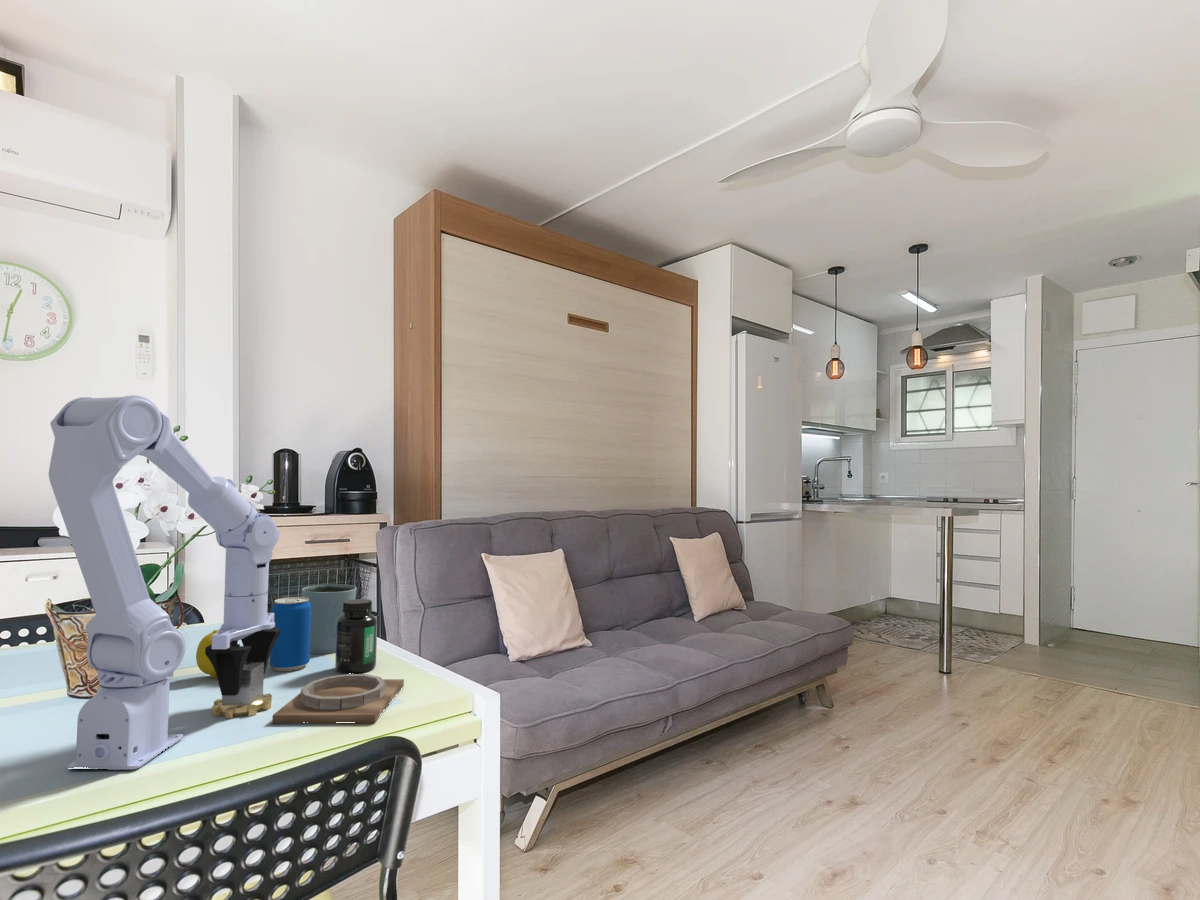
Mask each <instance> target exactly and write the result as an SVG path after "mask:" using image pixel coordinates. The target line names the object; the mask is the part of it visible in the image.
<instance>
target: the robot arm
mask: <svg viewBox="0 0 1200 900" xmlns="http://www.w3.org/2000/svg"><path fill="white" fill-rule="evenodd" d="M170 420H171V419H170V418H169V417H168V416H167V415H166V414H164V413H163V412H162V411H160V409H159V408H158V407H157V405H156V404H155V403H154V402H153V401H152V400H150V399H149V398H147V397H145V396H142V395H137V394H136V395H135V394H134V395H133V394H132V395H125V396H116V397H115V396H114V397H113V396H112V397H90V396H85V397H83V396H82V397H77V398H74V399H72V400H70V401H68V402H67V403H66V404H65V405H64V406H63V407H62V408H61V409H60V411H59V412H58V413H57V414H56V415H55V417H54V418H53V419H52V420H51V421H50V422H49V423H50V428H51V430H52V433H53V436H54V441H53V445H52V447H53V448H52V452H51V457H50V463H49V468H48V479H49V483H50V486H51V489H52V490H53V494H54V497H55V500H56V503H57V506H58V508H59V510H60V511H59V512H60V515H61V516H62V520H63V523H64V525H65V529H66V531H67V534H68V538H69V539H70V543H71V545H72V548H73V552H74V554H75V557H76V560H77V563H78V565H79V569H80V572H81V574H82V578H83V580H84V582H85V586H86V588H87V592H88V595H89V597H90V600H91V603H92V605H93V609H94V611H95V614H94V616H93V617H92V618H91V619H90V620H89V621H88V622H87V623H86V625H85V630H86V633H87V640H88V641H87V642H88V643H87V646H86V647H87V648H86V654H85V655H86V660H87V662H88V664H89V665H90V667H91V668H92V669H93V670H94V671H96V672H97V673H96V674H97V676H96V677H97V678H96V680H97V681H99V686H98V688H97V691H96V693H95V694H94V696H92V697H91V698H90V699H88V700H87V701H85V703H84V704H83V705H82V706H81V708H80V709H79V712H78V715H77V726H76V727H77V728H76V750H75V760H74V761H73V762H71V763H70V764H68V765H67V769H68V768H74V767H83V768H84V767H86V768H87V767H88V768H97V769H108V771H110V770H111V771H112V770H113V771H115V770H118V771H119V770H120V771H121V770H124V771H127V770H137V769H140V767H142V766H144V765H145V764H147V763H148V762H150V761H151V760H153V759H154V758H156V757H157V756H158V754H159V755H160V754H162V753H163V752H165V751H166V750H167V749H169V748H170V747H172V746H173V745H175V744H176V743H178V742H179V741H181V740H182V739H183V738H184V734H182V733H169V710H170V709H169V708H170V707H169V706H170V684H171V683H170V682H171V678H173V677H174V672H175V671H176V670H177V669H178V667H179V666H180V665H181V663H182V661H183V660H184V657H185V654H186V646H187V645H186V639H185V636H184V635H183V634H182V632H181V631H180V630H179V629H177V628H176V627H175V626H174V625H173V623H172V621H171V618H170V615H169V614H168V613H167V612H166V611H165V610H164V609H163V608H162V607H160V606H159V605H158V604H157V603H155V602H154V601H153V600H152V598H150V594H149V592H148V591H149V590H148V588H147V585H146V582H145V579H144V576H143V573H142V570H141V566H140V563H139V560H138V556H137V554H136V551H135V549H134V548H135V547H134V544H133V541H132V538H131V535H130V532H129V528H128V526H127V523H126V520H125V519H126V518H125V517H124V514H123V511H122V506H121V505H120V500H119V498H118V494H117V492H116V489H115V485H114V479H115V477H116V476H117V475H118V473H120V471H121V469H122V468H123V467H124V466H125V465H127V464H128V463H130V461H132V460H133V459H135V458H136V457H138V456H142V457H145V458H146V459H148V461H149V462H151V463H152V464H153V465H155V467H157V468H158V469H159V470H160V471H162V472H163V473H164V474H165V475H166V476H168V477H169V478H170V479H171V480H172V481H174V482H175V483H176V484H178V485H179V486H180V487H181V488H182V489H183V490H185V491H186V492H187V493H188V496H187V504H188V506H189V507H190V508H191V509H192V510H193V511H194V512H195V513H196V514H197V515H198V516H199V517H200V518H201V519H203V520H204V521H205V522H206V523H207V524H208V525H209V526H210V527H211V528H212V529H213V530H214V532H215V539H216V542H217V545H218V546H220V547H222V548H223V549H225V564H224V565H225V566H224V570H225V571H224V573H225V574H224V597H223V600H224V601H223V623H222V624H221V626H220V628H219V629H217V630H218V632H217V633H216V634H214V635H212V644H211V645H209V646H207V647H206V648H205V654H206V656H207V657H208V658H209V660H210V661H211V663H212V665H213V667H214V669H215V672H216V675H217V677H216V679H217V681H218V682H217V683H218V686H219V689H220V691H219V692H220V695H221V697H222V696H236V695H238V694H239V691H240V687H241V682H242V674H243V669H244V665H245V662H264V675H265V674H266V671H267V667H268V664H269V661H270V653H271V650H272V648H273V646H274V643H275V641H276V639H277V638H278V636H279V634H280V628H273V627H275V622H274V613H271V612H268V603H269V602H268V601H269V572H270V571H269V570H270V569H269V567H270V562H271V561H272V560H271V559H272V558H273V550H274V547H275V546H276V545H277V542H278V540H279V538H280V530H278V527H277V523H276V522H275V520H274V519H273V518H272V517H271V516H270V515H268V514H266V513H263V512H258V511H257V509H256V508H255V505H254V504H253V503H252V501H248V500H247V499H246V498H245V497H244V496H243V495H242V494H241V492H240V491H238V490H237V489H236V488H235V487H236V482H235V481H233V479H231V478H230V479H229V478H225V477H223V476H211V474H210V473H209V472H208V471H207V470H206V469H205V467H204V466H203V465H202V464H201V462H200V461H199V460H198V459H197V458H196V457H195V455H194V454H193V453H192V452H191V451H190V450H189V448H188V447H186V445H185V444H184V443H183V442H182V441H181V440H180V438H179V437H178V435H176V433H175V432H174V431H173V430H172V427H171V426H172V425H171V421H170ZM240 640H241V643H242V645H240V643H238V642H239V641H240ZM168 747H169V748H168ZM165 749H166V750H165ZM162 751H163V752H162ZM161 752H162V753H161Z"/></svg>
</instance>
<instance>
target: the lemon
mask: <svg viewBox="0 0 1200 900" xmlns="http://www.w3.org/2000/svg"><path fill="white" fill-rule="evenodd" d="M218 630H219V629H214V630H212V632H210V633H207V635H205V636H203V638H202V639H201V640H200V641H199V643H198V645H197V649H196V652H195V660H196V664H197V667H198V669H199V670H200V671H201V672H202V673H203V674H206V675H209V676H210V677H211V678H217V675H216V672H215V669H214V667H213V665H212V663H211V661H210V660H209V658H208V657H207V656H206V654H205V648H206V647H207V646H209V645H211V644H212V635H214V634H216V633H217V632H218Z"/></svg>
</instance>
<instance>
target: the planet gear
mask: <svg viewBox="0 0 1200 900" xmlns="http://www.w3.org/2000/svg"><path fill="white" fill-rule="evenodd" d="M264 677H265V674H264V662H246V661H245V665H244V669H243V674H242V682H241V687H240V691H239V694H238V695H236V696H222V695H221V699H220V698H219V699H216V700H214V701H213V705H212V706H211V707H212V708H211V715H212V716H213V717H218V716H222V717H224V719H234V718H235V717H242V716H243V717H244V716H248V717H252V716H255V715H257V713H259V712H262V711H268V710H270V709H271V708H272V699H273V698H272V697H273V695H272V694H271V693H264Z"/></svg>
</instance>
